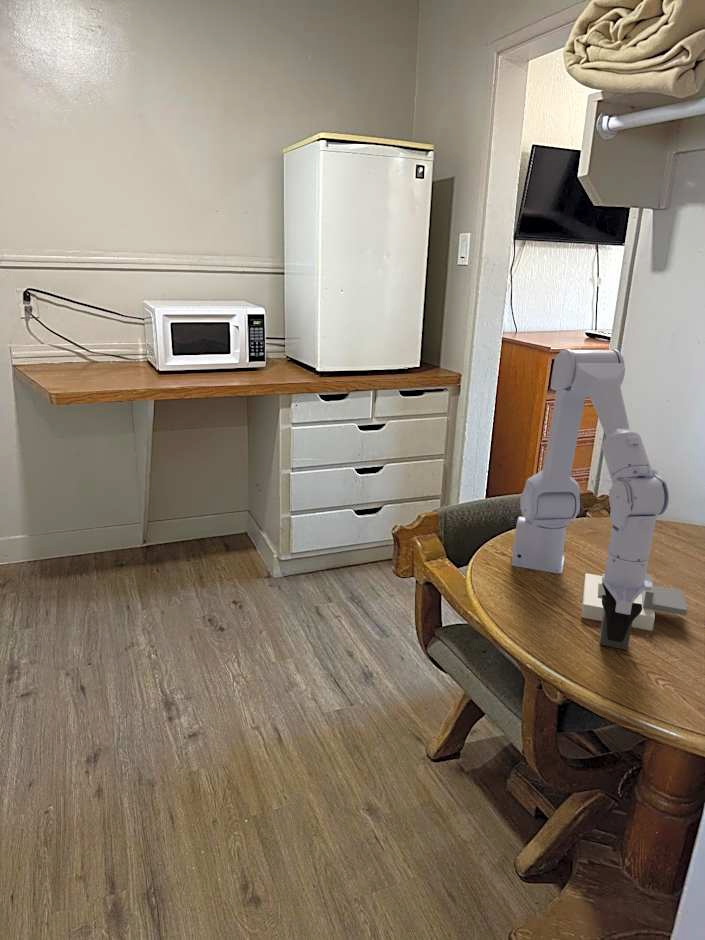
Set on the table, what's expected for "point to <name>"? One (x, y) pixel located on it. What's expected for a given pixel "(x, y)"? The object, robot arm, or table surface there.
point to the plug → (611, 643)
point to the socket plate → (594, 606)
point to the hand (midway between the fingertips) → (614, 632)
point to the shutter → (664, 599)
